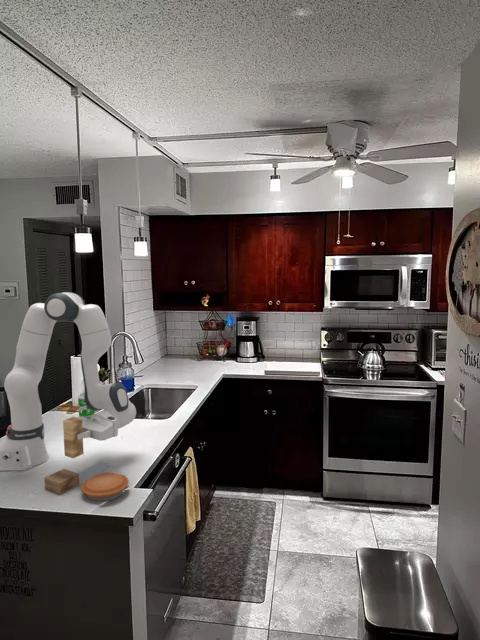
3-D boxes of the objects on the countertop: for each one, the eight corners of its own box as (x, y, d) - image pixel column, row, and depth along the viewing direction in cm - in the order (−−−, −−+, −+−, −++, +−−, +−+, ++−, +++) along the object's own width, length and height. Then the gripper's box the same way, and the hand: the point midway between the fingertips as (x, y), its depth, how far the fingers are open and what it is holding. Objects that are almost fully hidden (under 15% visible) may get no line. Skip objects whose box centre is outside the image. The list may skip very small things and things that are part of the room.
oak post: (73, 458, 157) (71, 422, 155) (64, 455, 159) (62, 420, 157) (83, 453, 161) (82, 418, 159) (75, 451, 163) (73, 416, 161)
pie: (72, 503, 147) (71, 489, 146) (95, 481, 162) (94, 468, 161) (117, 507, 144) (116, 493, 144) (135, 484, 159) (135, 471, 159)
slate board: (61, 496, 151) (61, 493, 151) (46, 490, 155) (46, 487, 155) (114, 468, 172) (114, 466, 171) (100, 463, 176) (100, 461, 176)
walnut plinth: (60, 494, 151) (59, 483, 150) (44, 488, 155) (44, 477, 154) (79, 484, 157) (78, 473, 157) (64, 479, 161) (63, 468, 161)
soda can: (76, 416, 230) (75, 394, 229) (90, 413, 235) (89, 391, 233) (82, 420, 224) (81, 397, 223) (96, 417, 229) (95, 394, 228)
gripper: (82, 410, 175) (51, 421, 163) (120, 420, 164) (90, 432, 153) (82, 426, 175) (52, 438, 164) (120, 436, 165) (91, 449, 153)
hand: (71, 435), depth 158 cm, fingers closed on oak post, 4 cm apart
